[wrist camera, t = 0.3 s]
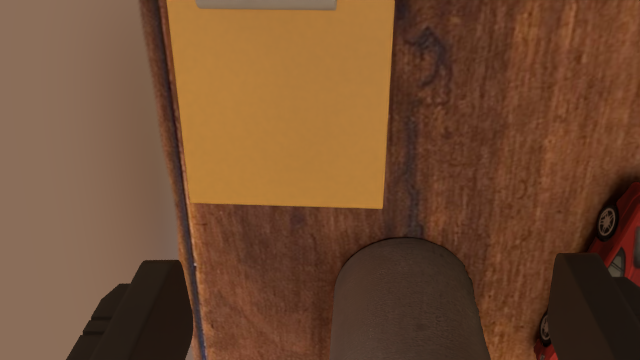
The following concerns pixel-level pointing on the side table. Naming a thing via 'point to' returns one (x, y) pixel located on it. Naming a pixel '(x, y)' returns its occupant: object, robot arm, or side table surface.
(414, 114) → the side table surface
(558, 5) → the side table surface
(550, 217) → the side table surface
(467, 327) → the pillar candle
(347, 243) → the side table surface
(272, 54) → the lid
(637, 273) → the toy car
